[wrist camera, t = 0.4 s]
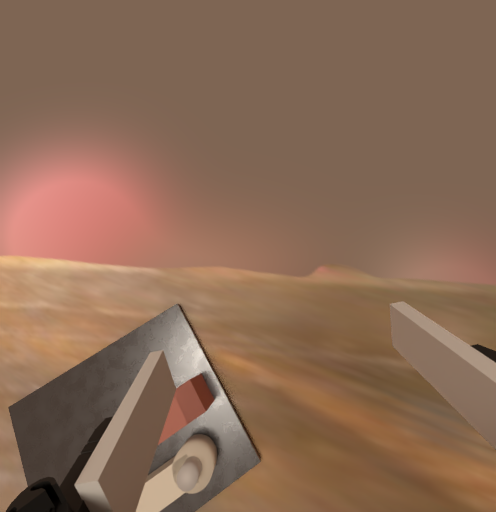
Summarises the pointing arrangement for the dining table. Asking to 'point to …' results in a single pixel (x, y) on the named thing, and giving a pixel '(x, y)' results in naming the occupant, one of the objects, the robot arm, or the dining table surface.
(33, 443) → the base plate
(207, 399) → the block
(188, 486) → the link
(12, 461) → the dining table surface
